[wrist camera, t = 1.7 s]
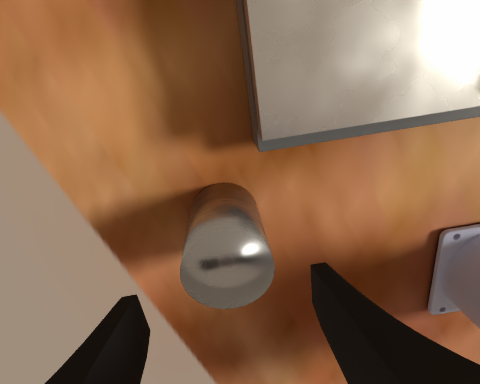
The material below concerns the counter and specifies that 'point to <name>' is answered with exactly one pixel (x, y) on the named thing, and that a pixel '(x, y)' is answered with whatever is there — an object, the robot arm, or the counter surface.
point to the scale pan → (360, 61)
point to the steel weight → (226, 249)
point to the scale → (334, 133)
